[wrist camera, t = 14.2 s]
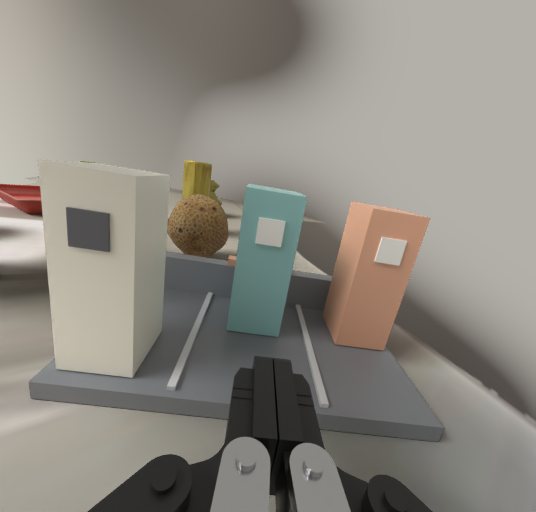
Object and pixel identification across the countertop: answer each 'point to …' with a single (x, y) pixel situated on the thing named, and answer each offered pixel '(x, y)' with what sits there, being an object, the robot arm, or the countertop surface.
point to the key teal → (265, 259)
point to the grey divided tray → (251, 360)
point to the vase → (196, 178)
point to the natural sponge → (198, 226)
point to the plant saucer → (22, 197)
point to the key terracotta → (372, 274)
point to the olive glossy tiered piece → (212, 192)
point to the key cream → (104, 263)
